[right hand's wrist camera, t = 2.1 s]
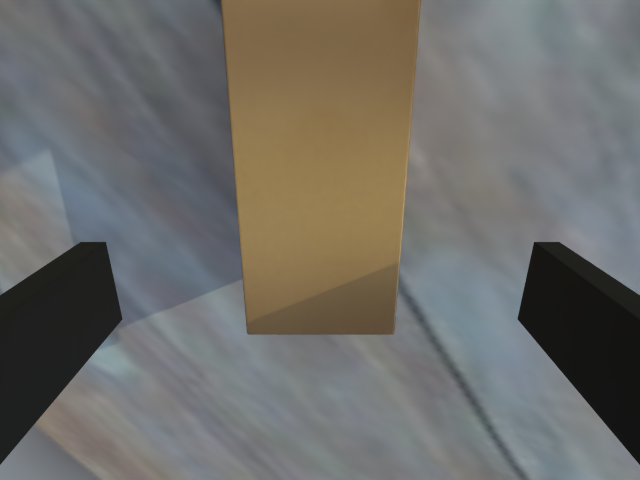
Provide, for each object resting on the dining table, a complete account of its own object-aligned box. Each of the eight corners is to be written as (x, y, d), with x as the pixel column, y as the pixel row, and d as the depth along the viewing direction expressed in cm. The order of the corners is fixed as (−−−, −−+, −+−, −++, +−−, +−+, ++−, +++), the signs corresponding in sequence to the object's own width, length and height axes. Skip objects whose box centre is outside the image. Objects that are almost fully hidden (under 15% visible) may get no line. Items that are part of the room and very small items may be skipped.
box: (363, 229, 27) (394, 335, 16) (278, 229, 27) (246, 335, 16) (379, -162, 20) (462, -516, 8) (261, -162, 20) (178, -516, 8)
